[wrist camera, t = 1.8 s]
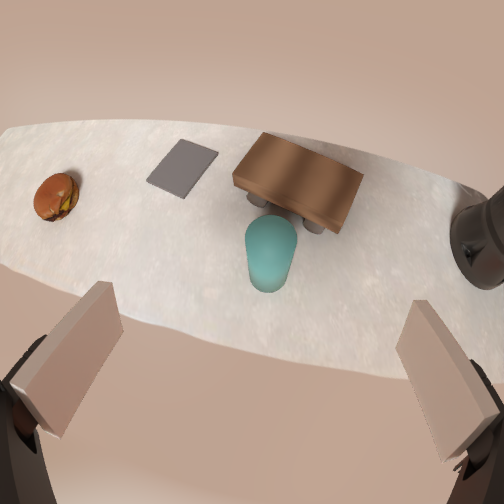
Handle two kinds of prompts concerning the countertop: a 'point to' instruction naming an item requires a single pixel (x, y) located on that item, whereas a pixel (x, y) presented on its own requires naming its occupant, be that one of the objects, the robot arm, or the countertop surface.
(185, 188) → the pad
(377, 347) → the countertop surface
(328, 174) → the slab
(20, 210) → the countertop surface
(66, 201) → the burger
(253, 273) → the roller
